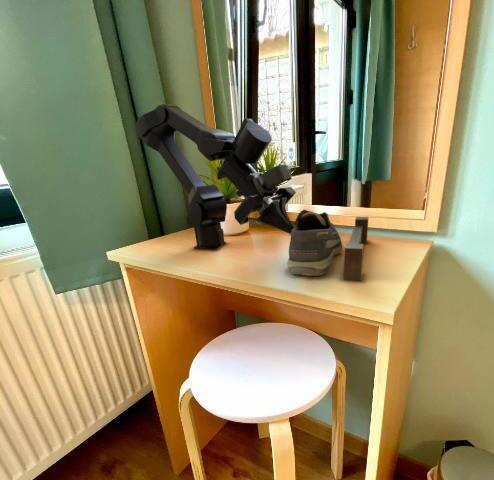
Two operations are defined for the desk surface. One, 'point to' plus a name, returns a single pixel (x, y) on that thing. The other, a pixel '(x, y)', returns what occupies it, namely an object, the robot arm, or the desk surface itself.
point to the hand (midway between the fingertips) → (292, 232)
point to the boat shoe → (313, 244)
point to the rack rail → (355, 250)
